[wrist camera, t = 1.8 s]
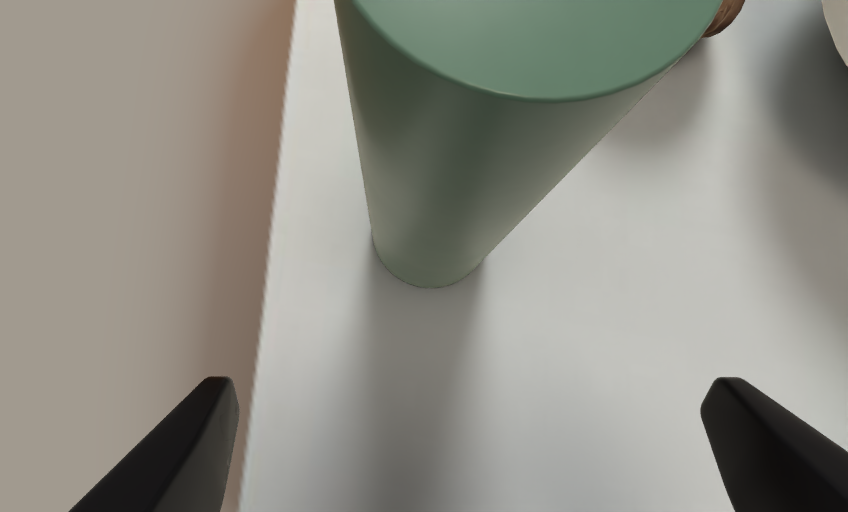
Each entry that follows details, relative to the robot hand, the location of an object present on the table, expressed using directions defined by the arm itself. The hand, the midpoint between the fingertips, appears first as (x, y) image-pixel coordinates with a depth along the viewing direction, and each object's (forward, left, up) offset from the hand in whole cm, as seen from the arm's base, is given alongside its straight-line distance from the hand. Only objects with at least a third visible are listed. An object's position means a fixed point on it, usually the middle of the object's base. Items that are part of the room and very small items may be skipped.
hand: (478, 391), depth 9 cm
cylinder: (+6, -1, -13) cm, 14 cm away
